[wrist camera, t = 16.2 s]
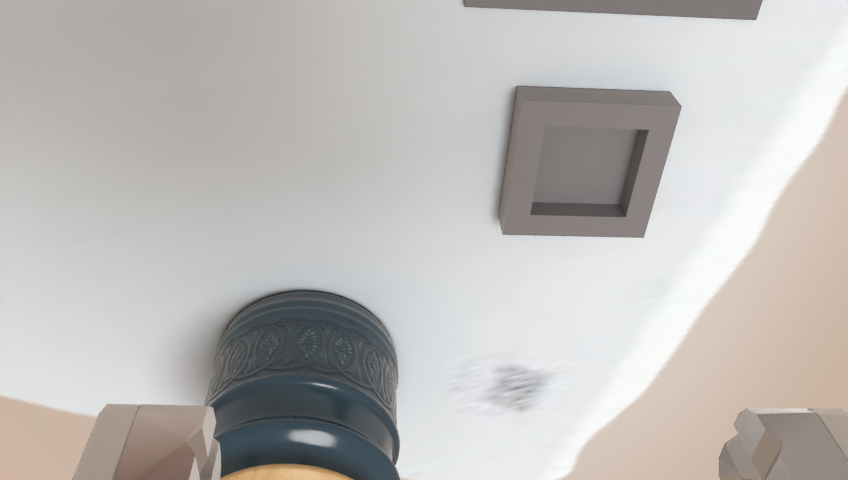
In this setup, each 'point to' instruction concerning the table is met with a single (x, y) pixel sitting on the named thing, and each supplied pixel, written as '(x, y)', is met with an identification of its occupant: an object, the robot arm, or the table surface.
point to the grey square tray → (585, 161)
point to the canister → (305, 392)
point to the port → (636, 7)
